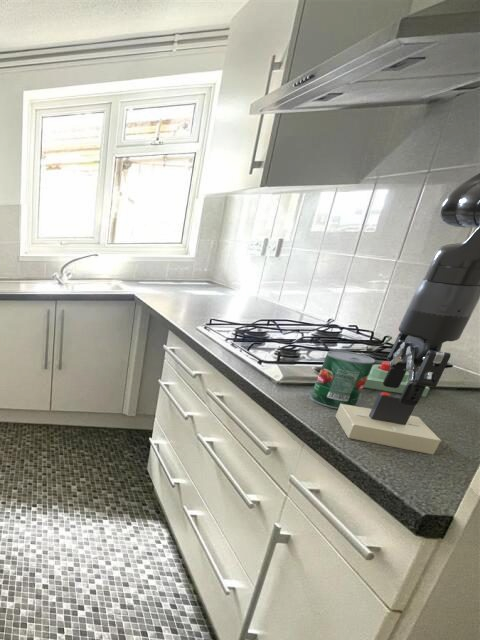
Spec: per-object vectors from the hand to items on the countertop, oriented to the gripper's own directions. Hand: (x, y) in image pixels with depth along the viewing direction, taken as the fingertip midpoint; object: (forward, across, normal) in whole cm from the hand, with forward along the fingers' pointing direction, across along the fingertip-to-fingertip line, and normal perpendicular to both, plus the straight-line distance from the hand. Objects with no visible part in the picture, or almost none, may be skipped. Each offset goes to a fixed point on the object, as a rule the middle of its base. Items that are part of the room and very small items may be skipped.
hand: (398, 394), depth 77 cm
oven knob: (+5, 0, 0) cm, 5 cm away
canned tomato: (+9, +13, +5) cm, 16 cm away
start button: (+5, +32, -9) cm, 34 cm away
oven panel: (+8, 0, 0) cm, 8 cm away
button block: (+8, +32, -9) cm, 34 cm away
